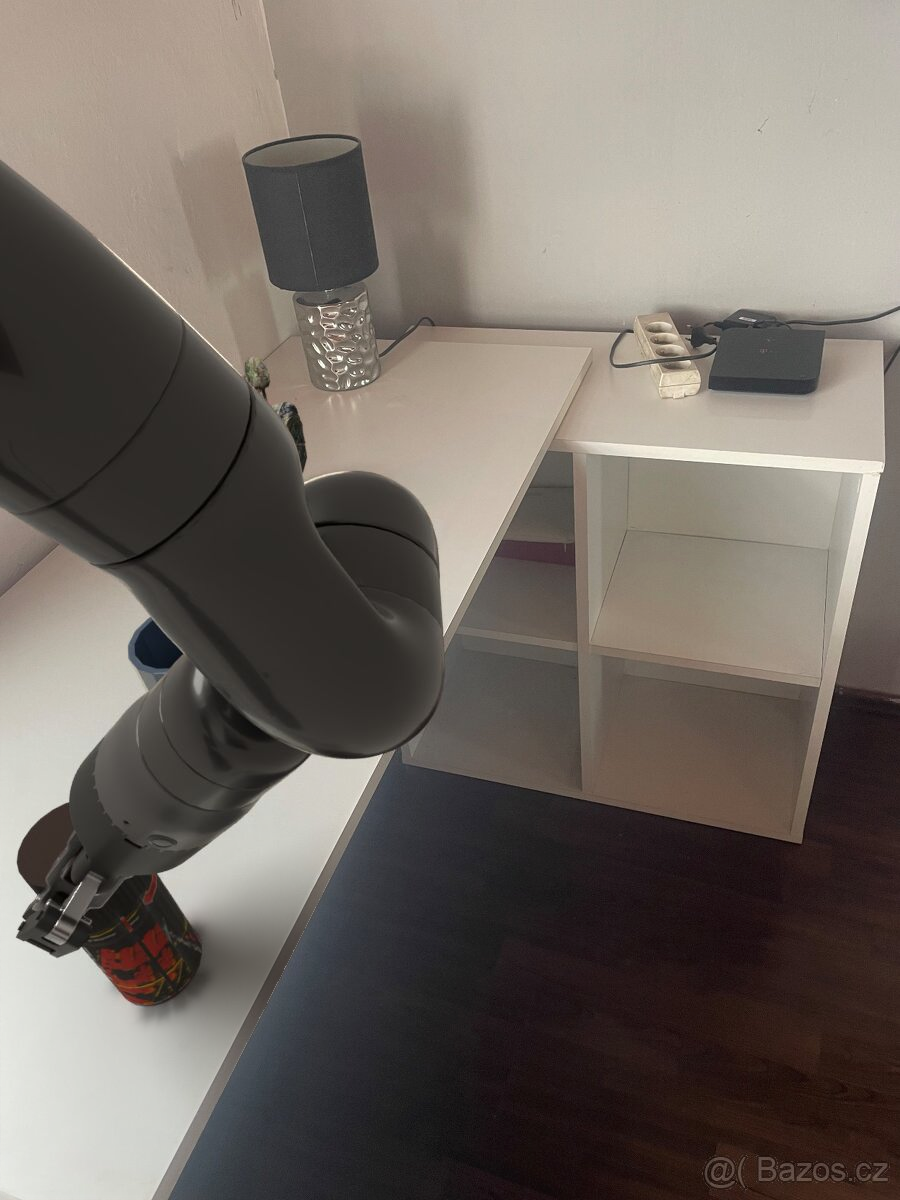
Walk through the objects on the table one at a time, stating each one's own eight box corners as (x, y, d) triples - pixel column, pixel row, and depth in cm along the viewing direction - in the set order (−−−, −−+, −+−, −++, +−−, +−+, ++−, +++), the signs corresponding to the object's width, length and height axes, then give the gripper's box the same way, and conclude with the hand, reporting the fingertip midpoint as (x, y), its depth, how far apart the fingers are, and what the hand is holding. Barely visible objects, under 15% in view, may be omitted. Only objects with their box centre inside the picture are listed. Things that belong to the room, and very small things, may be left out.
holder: (212, 739, 75) (185, 684, 71) (136, 712, 79) (106, 658, 74) (272, 668, 81) (250, 613, 76) (198, 646, 85) (174, 592, 80)
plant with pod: (342, 483, 103) (301, 323, 90) (302, 541, 95) (250, 375, 82) (282, 479, 106) (233, 322, 93) (238, 534, 98) (178, 373, 85)
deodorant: (99, 990, 59) (-6, 871, 49) (151, 912, 63) (63, 788, 53) (169, 1018, 57) (74, 899, 47) (218, 936, 61) (139, 811, 51)
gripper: (174, 629, 46) (77, 749, 57) (20, 866, 36) (-64, 957, 47) (290, 703, 49) (175, 805, 59) (175, 946, 38) (61, 1016, 49)
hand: (70, 872), depth 53 cm, fingers closed on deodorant, 6 cm apart
